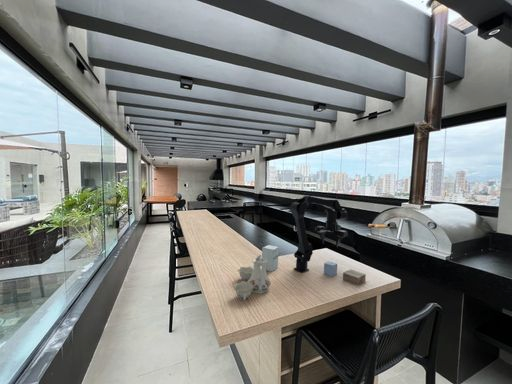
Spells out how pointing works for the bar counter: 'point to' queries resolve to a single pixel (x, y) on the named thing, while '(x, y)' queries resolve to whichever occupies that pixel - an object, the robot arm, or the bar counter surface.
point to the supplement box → (270, 257)
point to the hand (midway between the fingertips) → (330, 245)
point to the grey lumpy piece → (253, 279)
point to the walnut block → (354, 277)
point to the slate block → (330, 268)
